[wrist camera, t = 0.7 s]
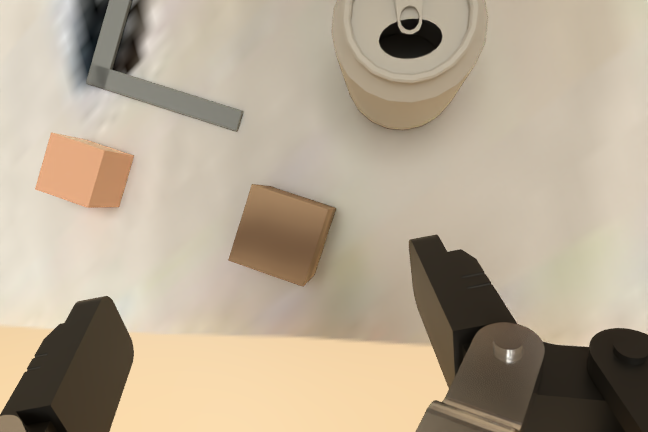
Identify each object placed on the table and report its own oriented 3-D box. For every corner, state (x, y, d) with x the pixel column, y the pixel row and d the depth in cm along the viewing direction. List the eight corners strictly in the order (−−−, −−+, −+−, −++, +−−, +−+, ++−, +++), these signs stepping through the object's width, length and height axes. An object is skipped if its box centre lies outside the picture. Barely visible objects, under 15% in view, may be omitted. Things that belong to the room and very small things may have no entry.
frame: (141, -103, 36) (139, -105, 36) (296, -61, 35) (295, -63, 35) (88, 84, 37) (86, 83, 37) (237, 131, 36) (235, 130, 36)
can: (350, 135, 35) (331, 101, 23) (344, 27, 35) (323, -63, 23) (459, 127, 34) (499, 88, 22) (454, 16, 34) (492, -83, 22)
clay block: (86, 139, 37) (51, 132, 33) (134, 155, 37) (104, 150, 33) (72, 190, 38) (35, 189, 34) (119, 207, 37) (87, 207, 33)
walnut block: (270, 186, 36) (252, 184, 31) (336, 208, 35) (328, 209, 30) (249, 251, 36) (228, 260, 31) (314, 274, 36) (303, 286, 31)
